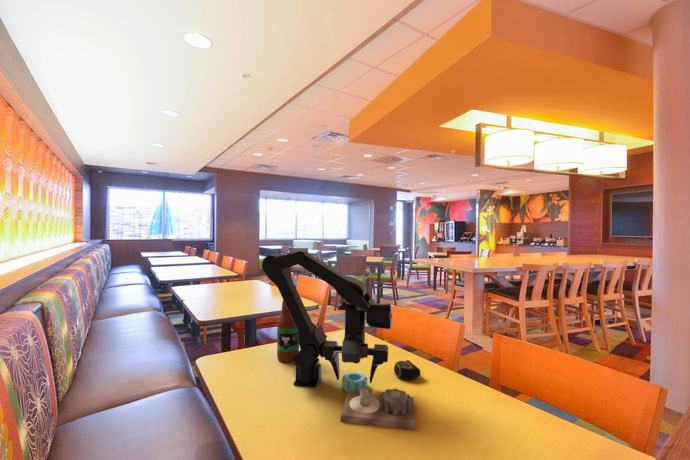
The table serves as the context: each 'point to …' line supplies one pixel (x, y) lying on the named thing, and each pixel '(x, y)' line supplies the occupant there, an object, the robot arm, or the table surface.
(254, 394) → the table surface
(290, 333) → the bottle
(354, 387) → the teal gear
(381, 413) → the gear board
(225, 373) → the table surface
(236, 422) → the table surface
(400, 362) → the tape measure
